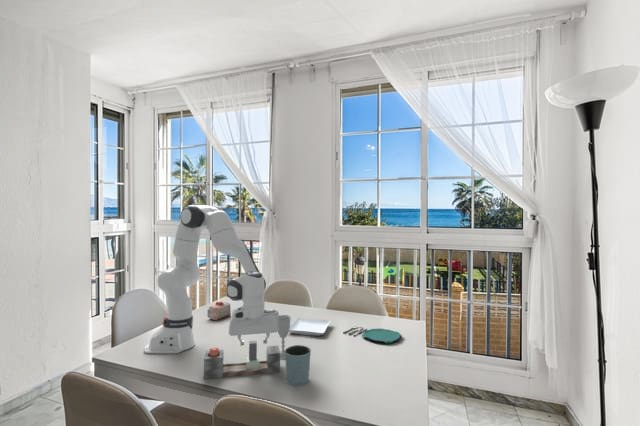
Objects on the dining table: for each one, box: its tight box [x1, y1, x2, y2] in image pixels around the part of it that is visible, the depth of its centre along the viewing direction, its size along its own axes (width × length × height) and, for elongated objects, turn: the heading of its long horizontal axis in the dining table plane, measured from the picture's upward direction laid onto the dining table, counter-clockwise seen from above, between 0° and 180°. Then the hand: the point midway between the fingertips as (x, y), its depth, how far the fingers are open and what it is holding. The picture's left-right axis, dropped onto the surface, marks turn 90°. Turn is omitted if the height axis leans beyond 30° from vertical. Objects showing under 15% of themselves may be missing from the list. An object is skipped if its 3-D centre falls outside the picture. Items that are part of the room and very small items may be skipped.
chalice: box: [277, 314, 292, 360], centre depth 157 cm, size 7×7×18 cm
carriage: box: [245, 340, 260, 369], centre depth 144 cm, size 5×5×10 cm
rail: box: [203, 345, 281, 380], centre depth 143 cm, size 30×8×8 cm, turn 103°
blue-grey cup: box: [284, 344, 312, 386], centre depth 136 cm, size 10×10×12 cm
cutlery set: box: [342, 326, 402, 344], centre depth 187 cm, size 20×30×2 cm, turn 54°
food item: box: [207, 301, 232, 321], centre depth 214 cm, size 14×8×10 cm, turn 151°
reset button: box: [208, 347, 220, 357], centre depth 140 cm, size 4×4×4 cm
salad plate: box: [288, 317, 332, 337], centre depth 194 cm, size 21×21×3 cm
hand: (253, 344), depth 144 cm, fingers open, 8 cm apart
